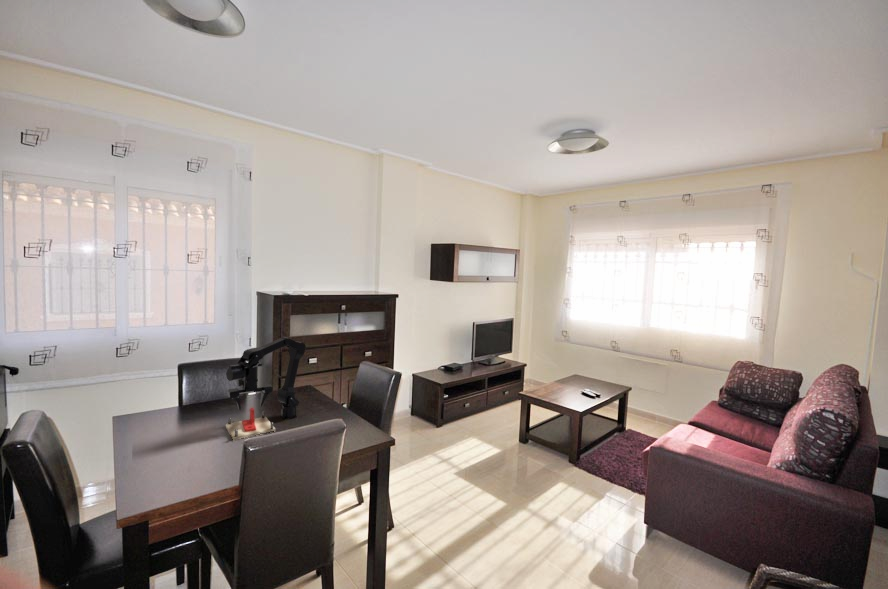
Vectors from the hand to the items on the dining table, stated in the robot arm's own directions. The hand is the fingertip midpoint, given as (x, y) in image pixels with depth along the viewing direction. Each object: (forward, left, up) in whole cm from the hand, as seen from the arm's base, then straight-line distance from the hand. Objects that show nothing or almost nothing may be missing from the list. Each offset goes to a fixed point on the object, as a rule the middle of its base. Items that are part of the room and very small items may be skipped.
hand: (250, 408), depth 188 cm
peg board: (0, 0, -10) cm, 10 cm away
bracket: (0, 0, -9) cm, 9 cm away
